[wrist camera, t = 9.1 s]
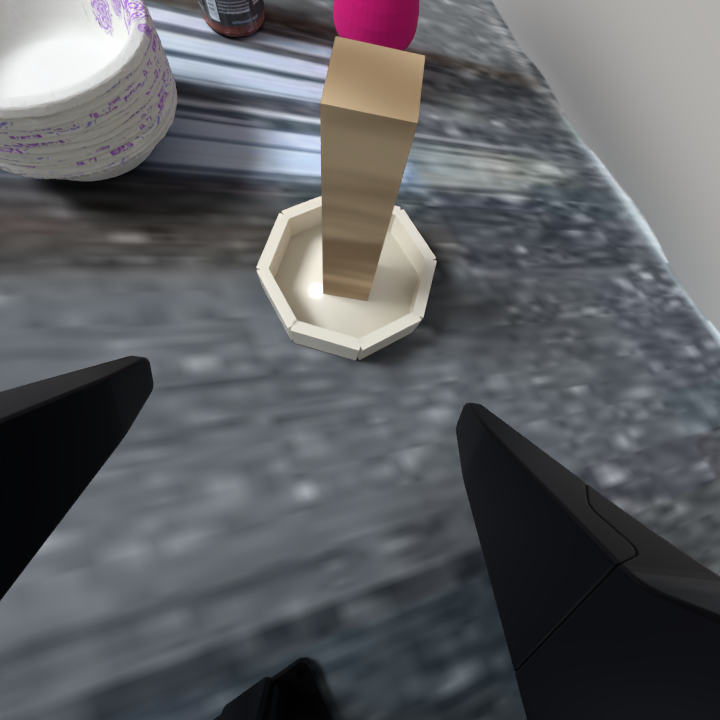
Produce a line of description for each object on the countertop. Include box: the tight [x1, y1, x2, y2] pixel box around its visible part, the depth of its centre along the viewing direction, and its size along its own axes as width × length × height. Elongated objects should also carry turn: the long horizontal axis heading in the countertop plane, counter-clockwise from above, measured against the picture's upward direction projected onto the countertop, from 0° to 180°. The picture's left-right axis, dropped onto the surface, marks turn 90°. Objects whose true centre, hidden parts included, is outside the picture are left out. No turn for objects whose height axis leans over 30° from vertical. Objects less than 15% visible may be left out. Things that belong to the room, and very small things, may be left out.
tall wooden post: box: [320, 36, 425, 301], centre depth 18 cm, size 3×3×14 cm
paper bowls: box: [0, 0, 177, 181], centre depth 23 cm, size 15×15×8 cm
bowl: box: [256, 196, 437, 361], centre depth 24 cm, size 12×12×2 cm
